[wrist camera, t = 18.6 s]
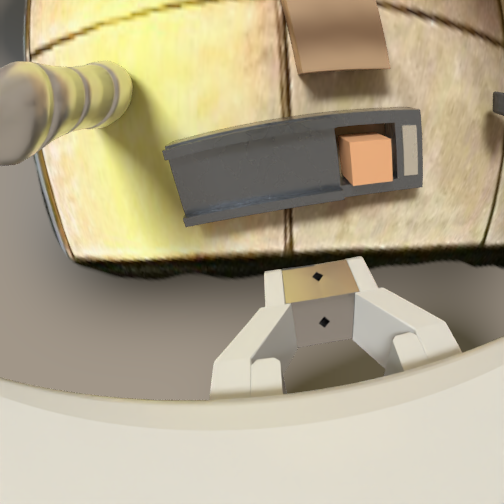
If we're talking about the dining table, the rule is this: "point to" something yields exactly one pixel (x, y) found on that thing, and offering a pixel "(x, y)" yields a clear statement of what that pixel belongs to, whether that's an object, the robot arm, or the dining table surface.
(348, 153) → the peach foam cube
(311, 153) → the grey slotted tray
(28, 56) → the dining table surface
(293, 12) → the brown square plate
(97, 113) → the plastic bottle
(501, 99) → the tankard
